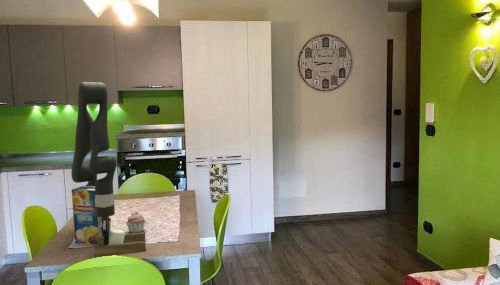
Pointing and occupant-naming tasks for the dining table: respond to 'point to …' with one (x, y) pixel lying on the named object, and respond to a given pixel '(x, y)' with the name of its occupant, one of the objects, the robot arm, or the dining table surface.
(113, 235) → the white tapered cylinder
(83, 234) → the juice carton
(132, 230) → the cupcake
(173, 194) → the dining table surface
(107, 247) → the walnut channel
